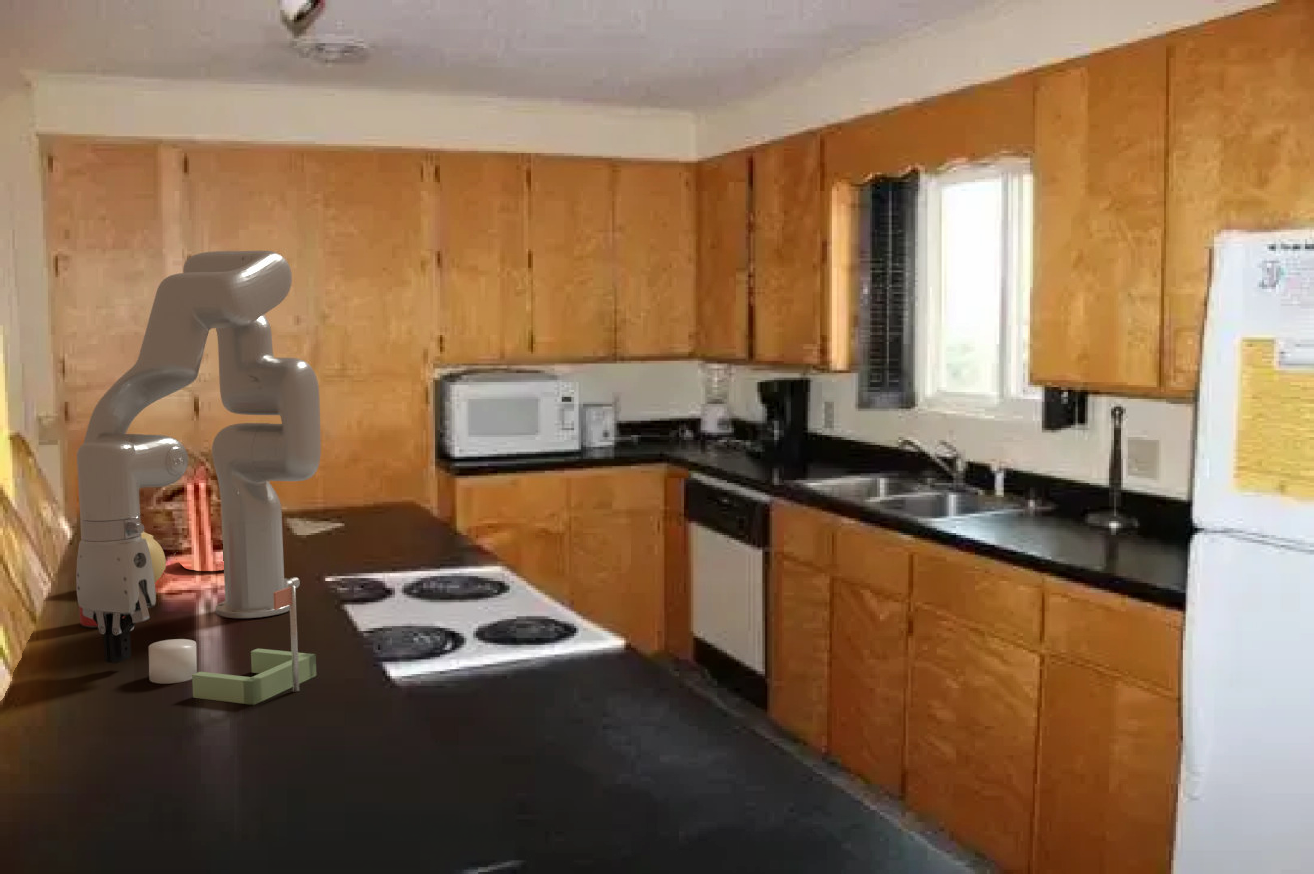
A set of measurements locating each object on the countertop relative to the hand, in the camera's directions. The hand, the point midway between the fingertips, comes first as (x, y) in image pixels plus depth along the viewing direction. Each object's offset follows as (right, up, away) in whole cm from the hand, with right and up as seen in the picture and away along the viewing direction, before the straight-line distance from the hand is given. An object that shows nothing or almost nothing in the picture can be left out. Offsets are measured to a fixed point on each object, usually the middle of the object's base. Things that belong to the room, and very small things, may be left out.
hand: (118, 659), depth 163 cm
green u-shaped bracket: (+23, -2, -8) cm, 24 cm away
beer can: (-15, +1, +26) cm, 30 cm away
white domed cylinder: (+9, -2, -3) cm, 10 cm away
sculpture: (-21, +3, +52) cm, 56 cm away
